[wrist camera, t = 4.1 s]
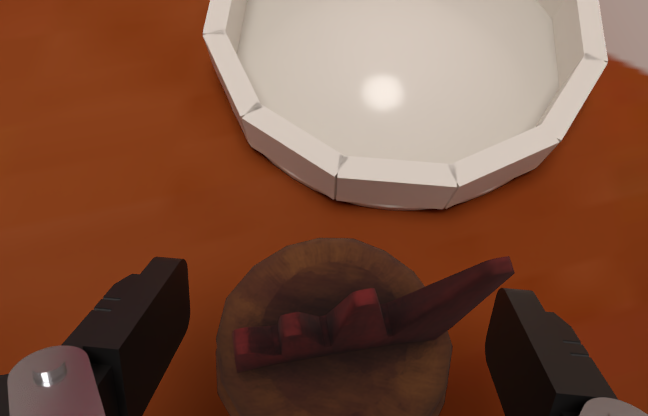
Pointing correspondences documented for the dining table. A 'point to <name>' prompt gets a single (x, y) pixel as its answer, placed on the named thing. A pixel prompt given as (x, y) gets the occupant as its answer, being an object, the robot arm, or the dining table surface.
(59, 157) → the dining table surface
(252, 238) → the dining table surface
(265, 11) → the ceramic dish
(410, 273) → the wooden figurine
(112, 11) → the dining table surface
